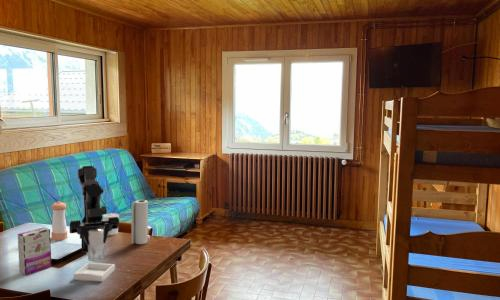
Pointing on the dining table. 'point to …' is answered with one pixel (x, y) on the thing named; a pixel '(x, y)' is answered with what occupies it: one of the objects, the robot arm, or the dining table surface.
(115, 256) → the dining table surface
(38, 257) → the candy bar box
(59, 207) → the pepper shaker
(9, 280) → the dining table surface
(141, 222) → the paper towel roll
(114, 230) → the white cup
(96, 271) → the bin
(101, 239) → the gravel can
